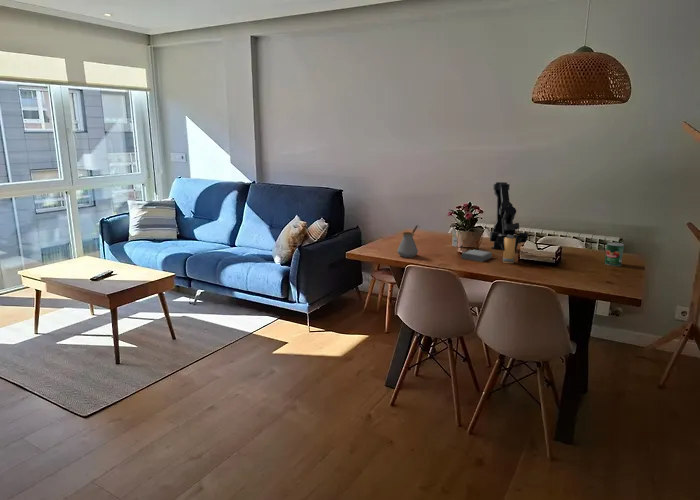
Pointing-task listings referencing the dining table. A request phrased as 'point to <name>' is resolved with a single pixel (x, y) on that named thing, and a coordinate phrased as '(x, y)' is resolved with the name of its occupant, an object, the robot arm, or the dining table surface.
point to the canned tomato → (614, 253)
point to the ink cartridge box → (454, 239)
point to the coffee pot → (408, 245)
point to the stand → (476, 255)
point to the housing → (509, 249)
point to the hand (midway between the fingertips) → (509, 250)
